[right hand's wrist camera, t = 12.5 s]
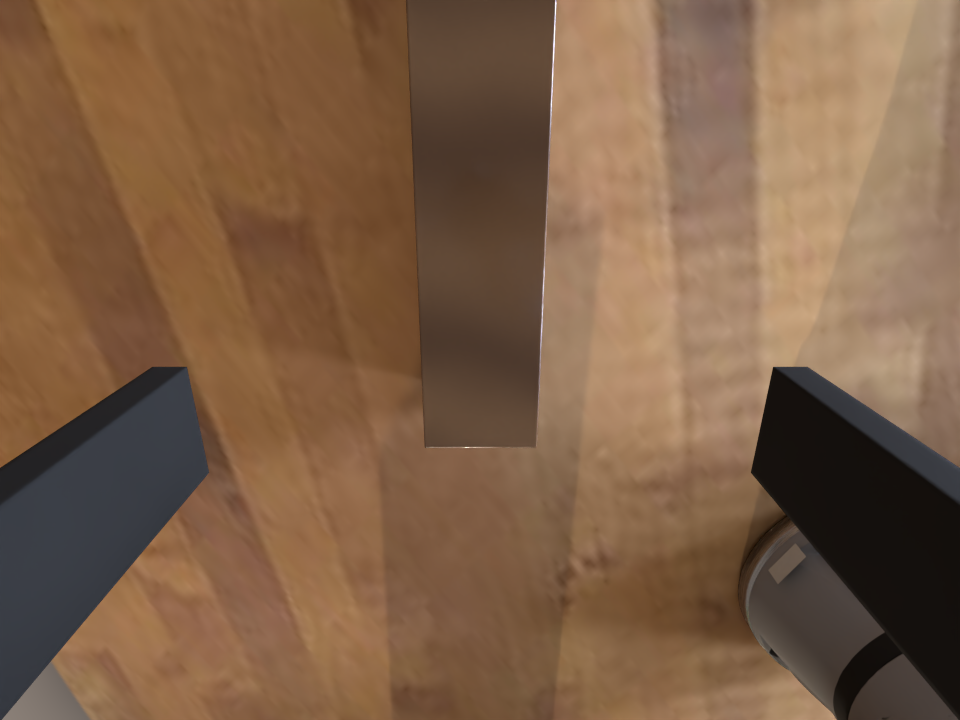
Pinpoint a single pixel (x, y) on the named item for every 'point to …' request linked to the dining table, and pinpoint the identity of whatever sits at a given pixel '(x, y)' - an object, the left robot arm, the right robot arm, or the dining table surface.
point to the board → (481, 213)
